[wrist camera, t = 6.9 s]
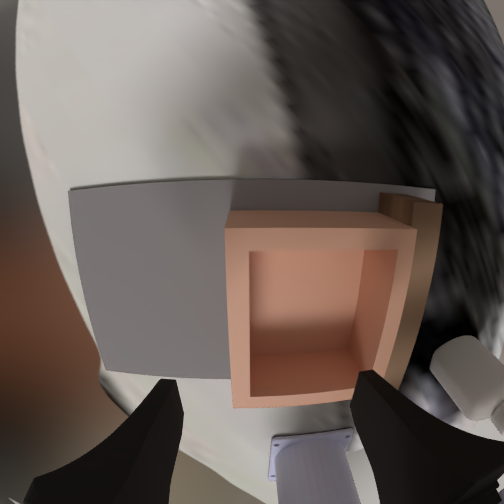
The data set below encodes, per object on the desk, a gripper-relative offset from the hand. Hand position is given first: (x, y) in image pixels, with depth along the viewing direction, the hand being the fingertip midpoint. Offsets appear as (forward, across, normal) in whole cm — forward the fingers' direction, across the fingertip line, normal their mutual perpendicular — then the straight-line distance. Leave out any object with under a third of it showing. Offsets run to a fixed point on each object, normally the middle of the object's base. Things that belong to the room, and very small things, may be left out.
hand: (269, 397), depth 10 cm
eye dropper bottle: (+9, -18, +7) cm, 21 cm away
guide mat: (+8, 0, -1) cm, 8 cm away
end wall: (+8, -8, 0) cm, 12 cm away
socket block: (+8, -3, -1) cm, 9 cm away
